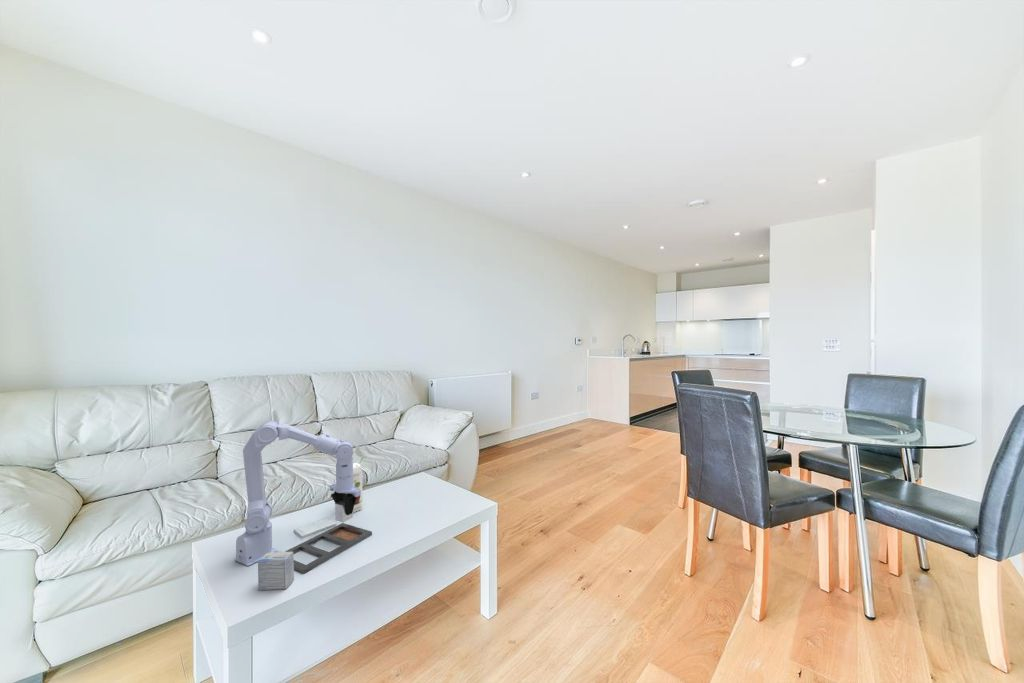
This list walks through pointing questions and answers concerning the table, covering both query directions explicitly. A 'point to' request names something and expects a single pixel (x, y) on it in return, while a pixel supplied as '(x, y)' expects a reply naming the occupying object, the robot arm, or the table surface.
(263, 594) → the table surface
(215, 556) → the table surface
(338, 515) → the grey metal block
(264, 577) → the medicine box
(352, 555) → the table surface
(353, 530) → the grey window frame
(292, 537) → the table surface
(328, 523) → the hard drive
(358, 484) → the juice carton
